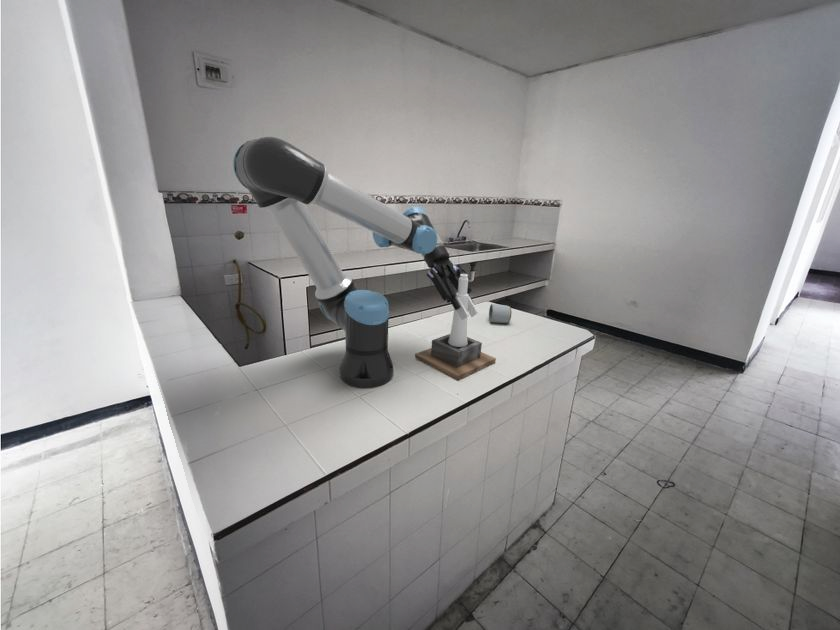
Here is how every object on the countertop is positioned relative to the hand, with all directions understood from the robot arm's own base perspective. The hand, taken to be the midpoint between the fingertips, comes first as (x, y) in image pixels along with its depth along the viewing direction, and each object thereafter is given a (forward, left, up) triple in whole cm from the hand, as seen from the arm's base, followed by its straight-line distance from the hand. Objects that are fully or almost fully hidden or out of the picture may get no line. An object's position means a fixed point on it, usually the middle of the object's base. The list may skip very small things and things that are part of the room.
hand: (470, 316), depth 109 cm
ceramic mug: (+42, +17, -16) cm, 48 cm away
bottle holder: (0, +4, -16) cm, 16 cm away
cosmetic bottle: (0, +4, -10) cm, 11 cm away
